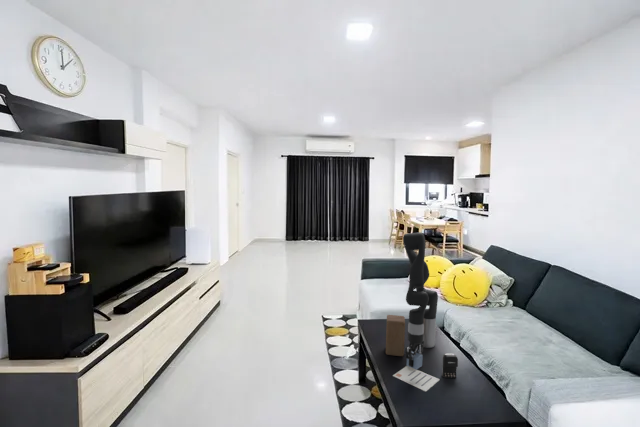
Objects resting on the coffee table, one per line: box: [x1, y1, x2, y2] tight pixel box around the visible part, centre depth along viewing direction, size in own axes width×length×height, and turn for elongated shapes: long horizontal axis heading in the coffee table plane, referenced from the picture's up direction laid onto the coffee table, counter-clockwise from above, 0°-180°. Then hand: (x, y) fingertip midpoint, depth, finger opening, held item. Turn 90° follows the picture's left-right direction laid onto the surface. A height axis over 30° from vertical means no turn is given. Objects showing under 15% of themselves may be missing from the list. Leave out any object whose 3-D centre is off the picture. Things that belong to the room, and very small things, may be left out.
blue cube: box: [406, 352, 424, 370], centre depth 170 cm, size 6×6×6 cm
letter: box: [392, 365, 440, 392], centre depth 170 cm, size 14×18×1 cm
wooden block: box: [385, 314, 406, 357], centre depth 196 cm, size 10×10×20 cm
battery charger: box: [441, 353, 459, 379], centre depth 171 cm, size 7×4×11 cm, turn 88°
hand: (414, 364), depth 170 cm, fingers closed on blue cube, 5 cm apart
